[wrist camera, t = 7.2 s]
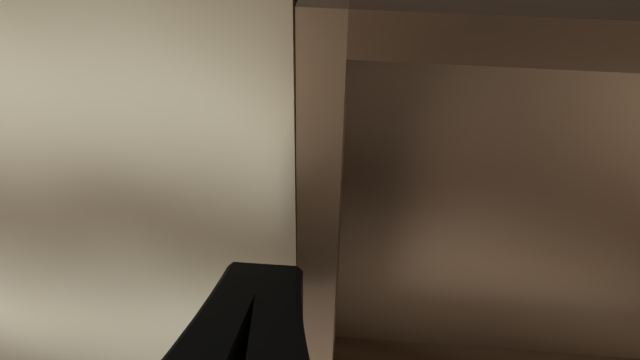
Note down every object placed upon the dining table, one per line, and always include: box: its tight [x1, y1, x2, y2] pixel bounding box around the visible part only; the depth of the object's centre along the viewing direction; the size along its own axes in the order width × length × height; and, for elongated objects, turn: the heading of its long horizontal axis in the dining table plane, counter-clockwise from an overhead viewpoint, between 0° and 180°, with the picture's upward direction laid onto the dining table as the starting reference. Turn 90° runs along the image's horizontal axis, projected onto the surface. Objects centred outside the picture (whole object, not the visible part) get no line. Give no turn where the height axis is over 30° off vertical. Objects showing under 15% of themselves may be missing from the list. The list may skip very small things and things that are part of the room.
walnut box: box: [295, 0, 640, 360], centre depth 13 cm, size 11×12×3 cm
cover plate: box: [0, 0, 297, 360], centre depth 13 cm, size 11×12×2 cm
